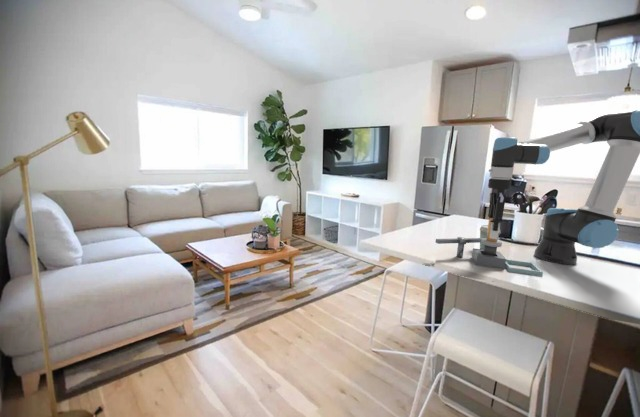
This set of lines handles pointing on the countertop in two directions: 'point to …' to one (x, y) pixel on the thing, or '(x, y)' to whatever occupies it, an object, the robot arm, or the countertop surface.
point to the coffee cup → (484, 234)
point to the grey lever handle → (459, 243)
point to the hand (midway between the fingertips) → (492, 236)
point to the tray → (533, 272)
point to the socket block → (488, 259)
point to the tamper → (490, 243)
